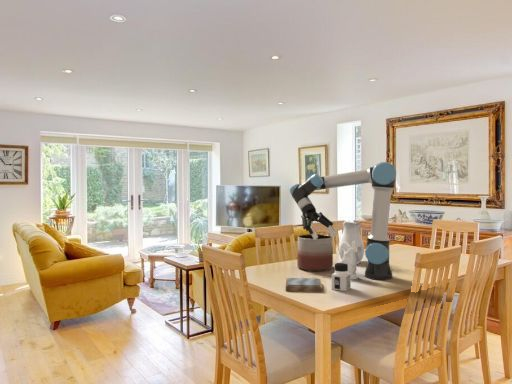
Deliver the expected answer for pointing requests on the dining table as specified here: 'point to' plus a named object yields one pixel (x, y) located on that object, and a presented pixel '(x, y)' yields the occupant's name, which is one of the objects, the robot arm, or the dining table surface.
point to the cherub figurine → (350, 257)
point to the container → (341, 277)
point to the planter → (315, 252)
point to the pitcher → (352, 237)
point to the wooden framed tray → (303, 284)
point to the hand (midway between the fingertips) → (325, 237)
